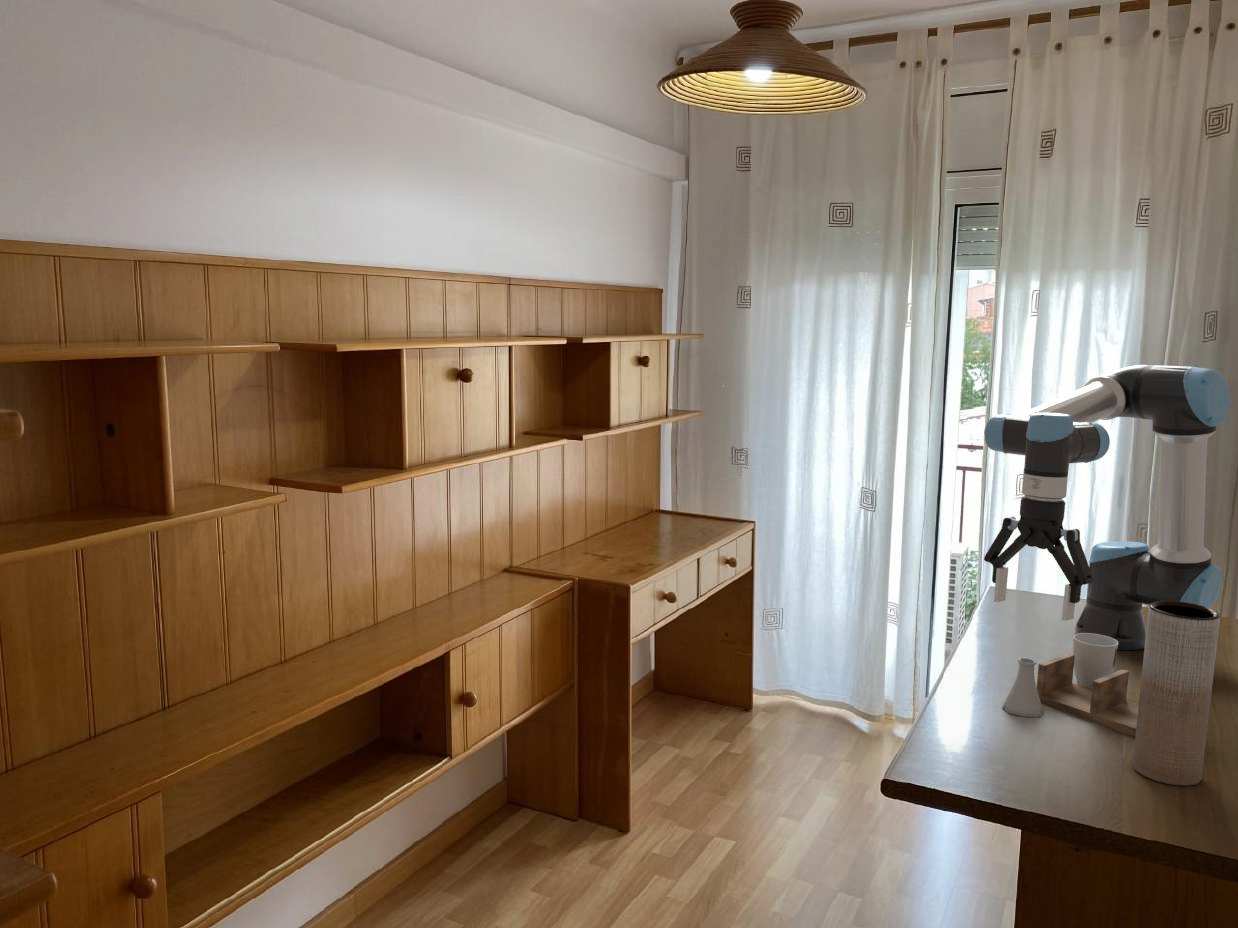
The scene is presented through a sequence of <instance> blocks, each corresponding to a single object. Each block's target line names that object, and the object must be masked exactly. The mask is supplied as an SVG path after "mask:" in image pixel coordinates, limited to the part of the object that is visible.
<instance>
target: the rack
mask: <svg viewBox="0 0 1238 928" xmlns="http://www.w3.org/2000/svg"><path fill="white" fill-rule="evenodd" d="M1074 659H1075V655H1073V653H1066V654H1063V655H1060V656H1058V657H1054V658H1052V659H1049V660H1046V661H1043V662H1040V663H1038V668H1037V669H1038V670H1037V678H1036V679H1037V680H1036V687H1037V691H1038V695H1039V698H1040V702H1041V705H1042V706H1045V707H1048V708H1052V709H1055V710H1057V711H1060V712H1064V713H1065V714H1069V715H1071V716H1074V717H1078V718H1081V719H1083V720H1086V721H1089V722H1090V723H1095V724H1097V725H1100V726H1103V727H1106V728H1109V729H1112V730H1115V731H1117V732H1120V733H1123V734H1126V735H1130V736H1132V737H1134V738H1135V736H1136V726H1137V717H1138V707H1139V703H1136V702H1133V701H1130V700H1127V694H1128V684H1129V677H1130V676H1129V675H1130V671H1129V670H1126V669H1119V670H1117V671H1115V672H1112V674H1109V675H1107V676H1104V677H1102V678H1099V679H1097V680H1094V681H1093V685H1092V689H1090V688H1087V687H1084V686H1080V685H1078V684H1077V683H1074V682H1073V680H1074Z"/></svg>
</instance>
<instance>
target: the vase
mask: <svg viewBox="0 0 1238 928" xmlns="http://www.w3.org/2000/svg"><path fill="white" fill-rule="evenodd" d="M1220 620H1221V614H1220V613H1219V612H1218V611H1216V610H1215V609H1213V608H1208V607H1205V606H1201V605H1197V604H1192V603H1186V602H1178V601H1157V602H1153V603H1151V604H1150V605H1148V611H1147V622H1146V623H1147V624H1146V630H1147V631H1146V640H1145V648H1144V651H1143V659H1142V660H1143V662H1142V669H1141V671H1142V672H1141V680H1140V690H1139V701H1138V704H1139V707H1138V717H1137V726H1136V736H1135V737H1134V746H1133V755H1132V756H1133V757H1132V767H1133V768H1134V770H1135V771H1136V773H1138V774H1140V775H1141V776H1143V777H1145V778H1147V779H1149V780H1151V781H1154V782H1157V783H1160V784H1165V785H1171V786H1176V787H1177V786H1178V787H1179V786H1181V787H1188V786H1195V785H1198V784H1199V783H1200V782H1201V780H1202V775H1203V770H1204V768H1203V767H1204V762H1205V761H1204V759H1205V753H1206V752H1205V751H1206V750H1205V749H1206V742H1207V735H1208V724H1209V719H1210V708H1211V699H1212V691H1213V690H1212V689H1213V682H1214V674H1215V673H1214V672H1215V665H1216V664H1215V663H1216V658H1217V657H1216V656H1217V649H1218V648H1217V647H1218V640H1219V631H1220Z"/></svg>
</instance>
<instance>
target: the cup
mask: <svg viewBox="0 0 1238 928" xmlns="http://www.w3.org/2000/svg"><path fill="white" fill-rule="evenodd" d="M1072 644H1073V647H1072V649H1073V650H1072V654H1073V655H1075V659H1074V669H1073V672H1074V676H1075V679H1076V684H1077V685H1080V686H1084V687H1087V688H1090V689H1092V685H1093V681H1094V680H1097V679H1099V678H1102V677H1104V676H1107V675H1109V674H1112V673H1114V672H1113V671H1114V668H1115V664H1116V659H1117V652H1118V650H1117V648H1118V641H1117V640H1115V639H1113V638H1111V637H1108V636H1104V635H1099V634H1092V633H1080V634H1076V635H1075V634H1074V635H1073V643H1072Z"/></svg>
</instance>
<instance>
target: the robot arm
mask: <svg viewBox="0 0 1238 928" xmlns="http://www.w3.org/2000/svg"><path fill="white" fill-rule="evenodd" d="M1230 399H1231V397H1230V389H1229V386H1228V383H1227V380H1226V379H1225V377H1223V375H1222V374H1221V373H1220V372H1219V371H1218V370H1215V369H1213V368H1205V367H1200V366H1199V367H1198V366H1188V365H1186V366H1185V365H1183V366H1181V365H1158V364H1156V365H1153V364H1136V365H1131V366H1130V365H1129V366H1126V367H1123V368H1120V369H1115V370H1112V371H1109V372H1106V373H1103V374H1100V375H1098V376H1096V377H1092V378H1090V379H1089V380H1087V382H1086V383H1085V384H1084V387H1081V388H1078V389H1077V390H1074V391H1072V392H1069V393H1066V394H1065V395H1062V396H1060V397H1058V398H1055V399H1052V400H1050V401H1047V402H1045V403H1043V404H1040V405H1038V406H1036V407H1032V408H1030V409H1029V410H1026V411H1024V412H1021V413H1019V414H1016V415H1010V414H995V415H993V416H991V418H989V419H988V421H987V423H986V425H985V429H984V442H985V444H986V446H987V447H988V448H989V449H990V450H991V451H995V452H998V453H999V452H1001V453H1003V454H1005V455H1006V454H1010V455H1011V454H1012V455H1019V456H1024V467H1023V475H1022V476H1023V477H1022V484H1021V485H1022V487H1021V494H1023V495H1024V496H1022V497H1021V498H1020V506H1019V516H1020V517H1019V519H1016V517H1015V516H1009V517H1004V518H1003V519H1002V524H1001V529H1000V531H999V532H998V534H997V536H996V537H995V539H994V540H993V542H992V543H991V545H990V547H989V549H988V551H986V553H985V555H984V557H983V560H984V562H986V563H989V564H991V565H992V575H991V576H992V578H991V581H992V583H993V584H994V594H993V595H994V597H993V602H996V603H1000V602H1004V601H1006V599H1007V597H1006V596H1007V588H1008V577H1009V576H1008V575H1009V567H1007V566H1006V565H1007V563H1009V561H1011V560H1012V559H1013V557H1015V556H1016V554H1018V553H1019V552H1020V551H1021V550H1022V549H1023V548H1025V546H1026V545H1027V547H1030V548H1031V547H1033V548H1034V547H1035V548H1038V549H1040V550H1047V551H1048V553H1049V554H1051V555H1052V557H1053V558H1054V560H1055V562H1056V564H1057V565H1058V567H1059V569H1060V570H1061V571H1062V572H1063V575H1064V576H1065V578H1066V579H1067V581H1068V583H1067V584H1064V585H1065V586H1064V592H1063V594H1064V595H1063V601H1062V602H1063V603H1062V613H1061V621H1065V622H1066V621H1070V620H1073V619H1075V610H1076V609H1075V607H1076V604H1077V603H1080V601H1081V593H1082V586H1084V585H1087V588H1086V589H1087V590H1086V598H1085V599H1086V600H1085V605H1084V608H1083V609H1082V611H1081V613H1080V615H1079V617H1078V619H1077V622H1076V624H1075V628H1074V635H1076V634H1080V633H1092V634H1099V635H1104V636H1108V637H1111V638H1113V639H1115V640H1117V641H1118V648H1117V651H1118V650H1120V651H1136V650H1142V649H1145V640H1146V631H1147V625H1146V623H1145V619H1144V615H1143V605H1147V606H1149V605H1150V604H1151V603H1153V602H1157V601H1178V602H1186V603H1192V604H1197V605H1201V606H1205V607H1208V608H1210V609H1212V608H1213V605H1215V603H1216V600H1217V599H1218V597H1219V594H1220V592H1221V589H1222V585H1223V581H1224V580H1223V578H1224V576H1223V574H1224V573H1223V572H1222V568H1221V567H1219V566H1217V565H1216V564H1212V553H1211V551H1210V550H1208V549H1207V547H1205V546H1204V543H1205V541H1204V539H1205V536H1204V535H1205V515H1206V514H1205V512H1206V511H1205V510H1206V509H1205V508H1206V488H1207V487H1206V486H1207V485H1206V483H1207V481H1206V480H1207V479H1206V478H1207V453H1208V451H1207V450H1208V439H1209V438H1210V437H1211V436H1213V434H1216V432H1217V427H1218V426H1220V425H1222V424H1223V423H1224V422H1225V421H1226V420H1227V417H1228V415H1229V414H1228V411H1230V403H1231V400H1230ZM1120 417H1121V418H1134V419H1135V418H1136V419H1142V420H1152V432H1153V434H1155V435H1156V436H1157V437H1159V439H1160V442H1159V443H1160V444H1159V477H1158V478H1159V485H1158V487H1159V488H1158V489H1159V490H1158V518H1157V519H1158V521H1157V522H1158V523H1157V525H1158V526H1157V544H1155V545H1154V546H1153V547H1151V548H1150V547H1149V545H1148V544H1147V543H1144V542H1138V541H1128V540H1127V541H1122V540H1121V541H1117V540H1116V541H1104V542H1099V543H1096V544H1095V545H1093V547H1092V548H1091V552H1090V556H1089V560H1088V561H1087V557H1086V555H1085V551H1084V549H1083V545H1082V544H1081V532H1080V529H1078V528H1074V529H1065V528H1064V527H1063V526H1064V525H1063V522H1064V520H1065V510H1066V502H1065V500H1064V499H1065V498H1066V497H1067V494H1068V493H1067V489H1068V480H1069V479H1068V478H1069V469H1070V468H1069V467H1070V464H1078V463H1079V464H1080V463H1084V464H1087V463H1091V462H1095V461H1097V460H1100V459H1102V458H1103V457H1105V455H1106V454H1107V453H1108V450H1109V449H1110V443H1111V440H1110V435H1109V432H1108V431H1107V430H1106V428H1105V427H1104V426H1103V425H1102V424H1100V423H1097V421H1099V420H1102V421H1109V420H1113V419H1115V418H1120ZM1016 529H1018V531H1019V533H1020V534H1019V535H1018V536H1017V537H1016V538H1015V539H1014V540H1013V542H1012V543H1011V544H1010V545H1009V546H1008V547H1007V548H1006V549H1005V550H1003V549H1004V547H1005V546H1006V544H1007V542H1008V541H1009V540H1010V538H1011V537H1012V534H1013V533H1014V531H1015V530H1016ZM1062 537H1063V540H1064V541H1066V545H1067V549H1068V552H1069V555H1068V554H1067V552H1066V550H1065V546H1064V543H1063V542H1062V541H1061V538H1062Z"/></svg>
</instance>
